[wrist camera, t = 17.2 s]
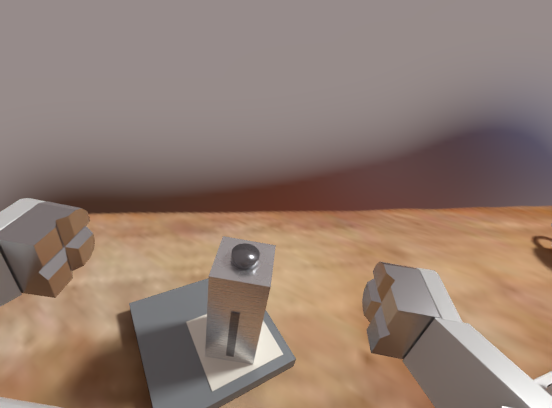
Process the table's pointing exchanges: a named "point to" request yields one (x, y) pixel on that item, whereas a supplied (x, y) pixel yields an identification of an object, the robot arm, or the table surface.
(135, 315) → the dock board
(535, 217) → the table surface
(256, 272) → the aluminium block
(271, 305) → the table surface
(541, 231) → the table surface
